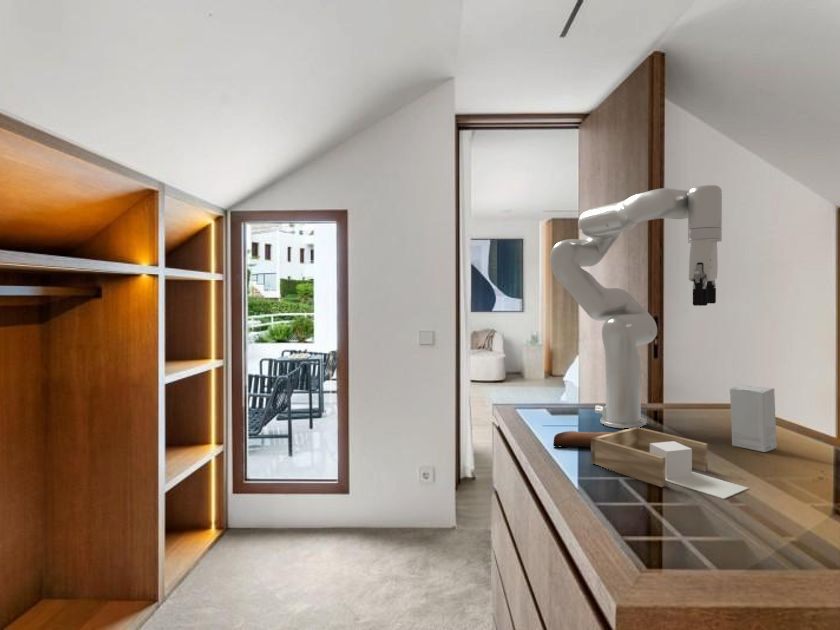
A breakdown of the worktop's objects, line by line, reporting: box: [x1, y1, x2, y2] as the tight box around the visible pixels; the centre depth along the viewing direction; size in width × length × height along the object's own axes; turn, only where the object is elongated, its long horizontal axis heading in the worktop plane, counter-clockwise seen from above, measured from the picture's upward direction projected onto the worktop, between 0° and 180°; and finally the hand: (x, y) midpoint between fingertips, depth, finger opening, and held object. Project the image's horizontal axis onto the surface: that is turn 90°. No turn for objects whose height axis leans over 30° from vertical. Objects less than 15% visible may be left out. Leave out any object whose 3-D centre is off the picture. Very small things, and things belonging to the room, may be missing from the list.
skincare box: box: [729, 384, 777, 453], centre depth 141 cm, size 8×6×15 cm
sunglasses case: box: [552, 430, 613, 448], centre depth 146 cm, size 18×7×7 cm
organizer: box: [590, 427, 709, 488], centre depth 129 cm, size 16×18×6 cm
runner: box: [665, 471, 749, 500], centre depth 123 cm, size 26×9×1 cm, turn 33°
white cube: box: [650, 441, 693, 479], centre depth 124 cm, size 6×6×6 cm
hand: (704, 304), depth 145 cm, fingers open, 9 cm apart
